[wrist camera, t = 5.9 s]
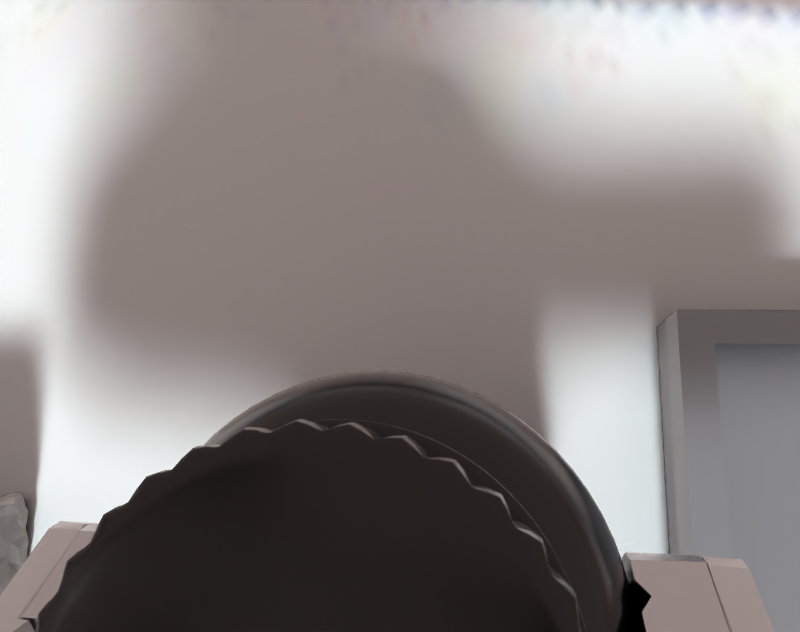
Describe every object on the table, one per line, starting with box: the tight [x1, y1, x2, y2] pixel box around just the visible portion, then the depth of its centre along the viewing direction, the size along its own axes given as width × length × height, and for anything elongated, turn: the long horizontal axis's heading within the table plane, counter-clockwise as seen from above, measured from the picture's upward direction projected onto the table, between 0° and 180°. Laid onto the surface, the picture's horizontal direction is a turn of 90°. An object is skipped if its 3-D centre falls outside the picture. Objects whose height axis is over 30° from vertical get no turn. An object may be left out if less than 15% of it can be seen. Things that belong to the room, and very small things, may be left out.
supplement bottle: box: [35, 371, 637, 632], centre depth 11 cm, size 7×7×12 cm
